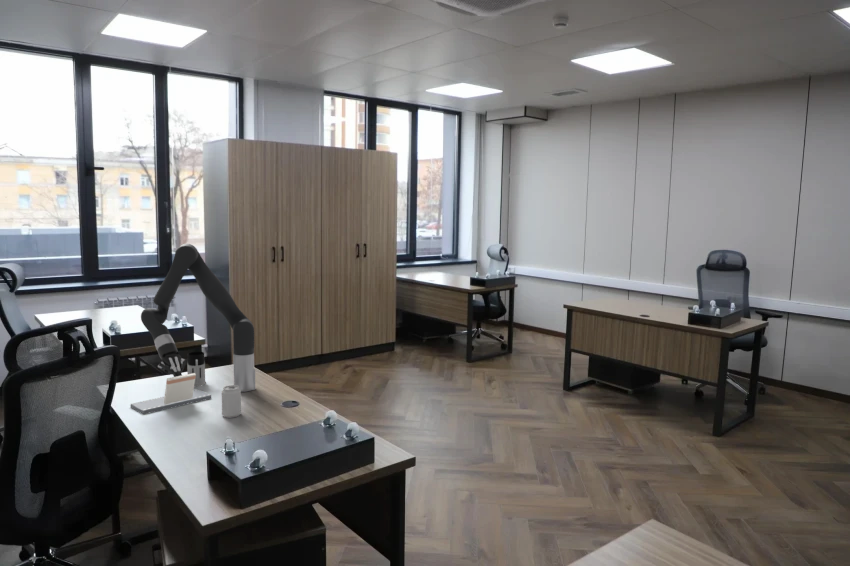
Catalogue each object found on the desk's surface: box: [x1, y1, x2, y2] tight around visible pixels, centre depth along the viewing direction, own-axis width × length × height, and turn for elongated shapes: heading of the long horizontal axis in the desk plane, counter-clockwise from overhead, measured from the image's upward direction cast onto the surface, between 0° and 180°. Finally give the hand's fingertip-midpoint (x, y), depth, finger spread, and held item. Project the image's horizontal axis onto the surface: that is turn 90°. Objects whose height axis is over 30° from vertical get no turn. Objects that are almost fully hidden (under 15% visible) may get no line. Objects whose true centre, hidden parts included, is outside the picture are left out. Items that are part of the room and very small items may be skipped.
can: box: [221, 384, 242, 419], centre depth 244 cm, size 8×8×12 cm
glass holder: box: [186, 351, 207, 387], centre depth 283 cm, size 9×14×15 cm, turn 23°
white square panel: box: [163, 373, 196, 404], centre depth 253 cm, size 12×1×12 cm, turn 138°
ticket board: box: [130, 388, 212, 415], centre depth 258 cm, size 30×12×2 cm, turn 138°
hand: (179, 380), depth 252 cm, fingers closed
